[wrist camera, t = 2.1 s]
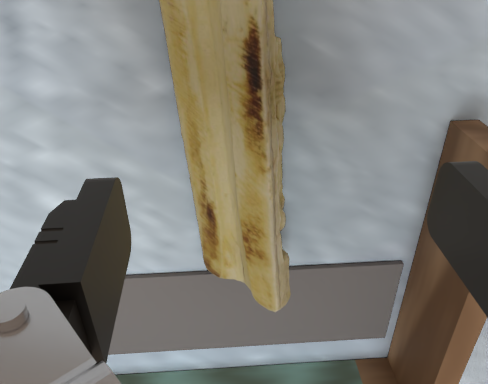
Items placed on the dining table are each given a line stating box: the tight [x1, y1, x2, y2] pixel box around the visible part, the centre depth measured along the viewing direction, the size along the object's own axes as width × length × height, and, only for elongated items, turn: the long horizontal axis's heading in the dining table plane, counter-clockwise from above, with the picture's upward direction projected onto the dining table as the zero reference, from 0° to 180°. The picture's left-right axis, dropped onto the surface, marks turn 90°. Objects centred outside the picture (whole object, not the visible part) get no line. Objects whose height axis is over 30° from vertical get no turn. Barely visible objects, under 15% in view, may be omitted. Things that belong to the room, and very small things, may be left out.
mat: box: [108, 261, 404, 355], centre depth 29 cm, size 24×7×1 cm, turn 91°
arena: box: [115, 120, 488, 384], centre depth 25 cm, size 24×21×6 cm
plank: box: [159, 0, 291, 312], centre depth 18 cm, size 23×5×5 cm, turn 6°
